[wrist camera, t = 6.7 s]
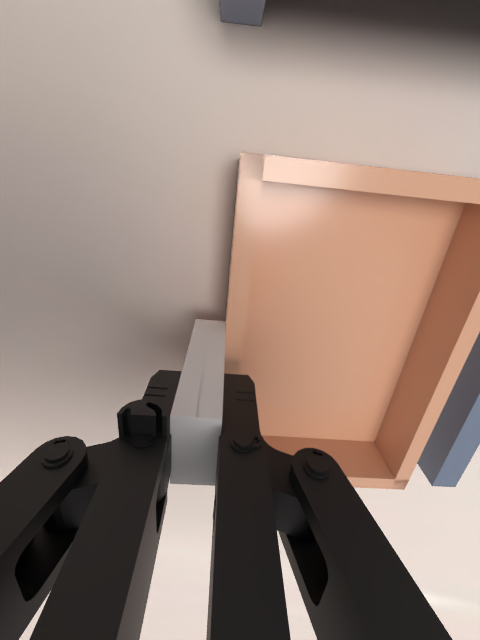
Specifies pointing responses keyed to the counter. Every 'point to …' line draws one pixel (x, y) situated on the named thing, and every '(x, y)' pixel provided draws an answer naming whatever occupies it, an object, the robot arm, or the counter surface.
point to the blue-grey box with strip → (472, 383)
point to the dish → (352, 306)
